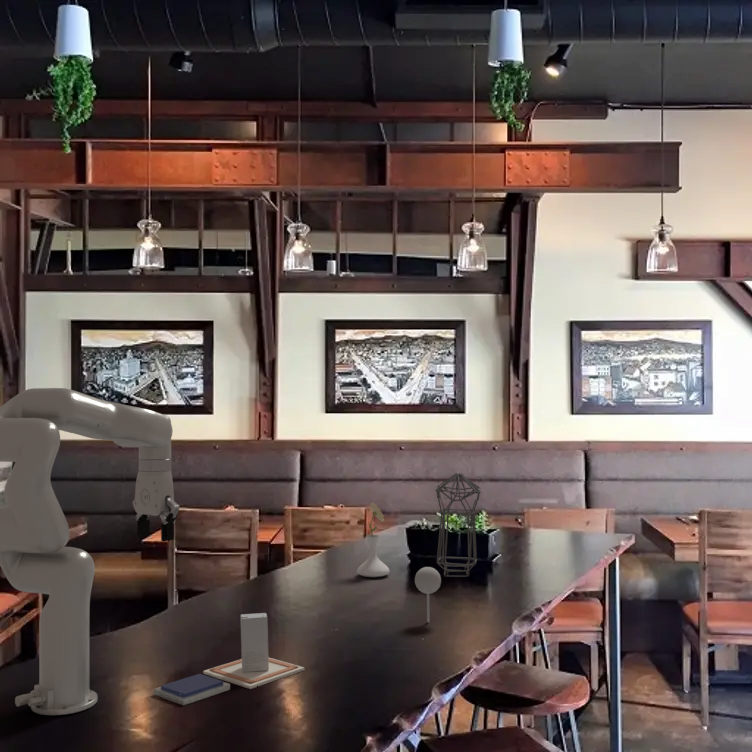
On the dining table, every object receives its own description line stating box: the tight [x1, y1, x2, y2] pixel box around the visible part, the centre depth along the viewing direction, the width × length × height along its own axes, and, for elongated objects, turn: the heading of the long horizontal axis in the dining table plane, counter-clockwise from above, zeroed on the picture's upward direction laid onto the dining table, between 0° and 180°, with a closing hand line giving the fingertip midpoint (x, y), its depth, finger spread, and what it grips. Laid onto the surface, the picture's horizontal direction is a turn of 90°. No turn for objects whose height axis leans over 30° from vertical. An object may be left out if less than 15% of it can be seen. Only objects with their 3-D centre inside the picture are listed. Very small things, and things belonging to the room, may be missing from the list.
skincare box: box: [239, 612, 269, 672], centre depth 192 cm, size 6×4×12 cm
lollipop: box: [414, 566, 442, 624], centre depth 233 cm, size 7×7×15 cm
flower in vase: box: [356, 502, 390, 578], centre depth 295 cm, size 13×11×25 cm
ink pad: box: [153, 673, 231, 706], centre depth 179 cm, size 12×10×2 cm
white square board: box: [202, 656, 306, 690], centre depth 192 cm, size 16×16×1 cm
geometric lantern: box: [435, 472, 482, 578], centre depth 296 cm, size 16×16×35 cm
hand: (155, 538), depth 204 cm, fingers open, 9 cm apart
